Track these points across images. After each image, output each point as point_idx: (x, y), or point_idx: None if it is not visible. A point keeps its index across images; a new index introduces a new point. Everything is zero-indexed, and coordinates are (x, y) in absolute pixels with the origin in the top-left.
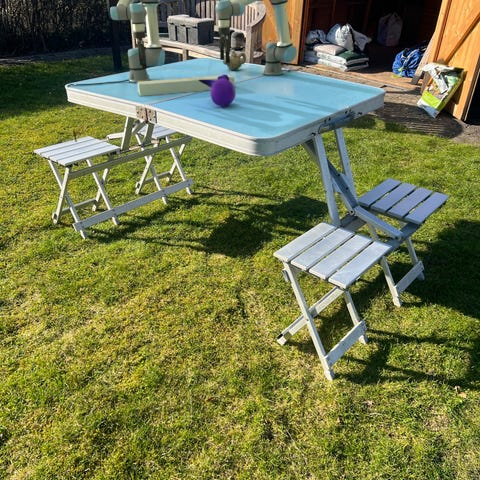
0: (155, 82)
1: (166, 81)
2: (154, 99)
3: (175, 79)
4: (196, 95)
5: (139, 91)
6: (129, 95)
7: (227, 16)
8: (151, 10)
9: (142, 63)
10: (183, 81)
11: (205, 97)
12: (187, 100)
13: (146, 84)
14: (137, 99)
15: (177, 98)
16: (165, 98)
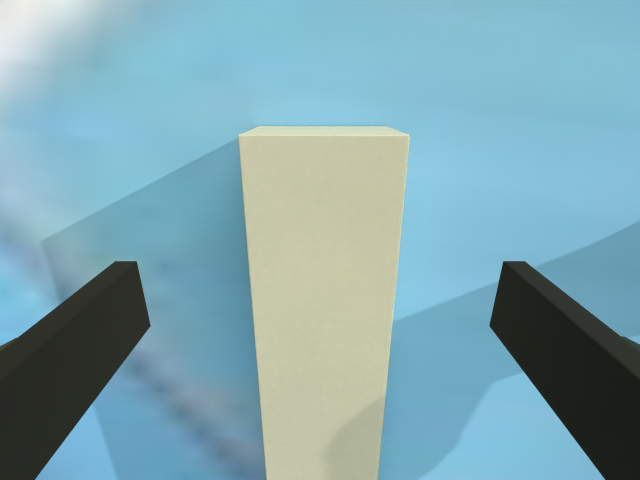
0: (288, 302)
1: (297, 384)
2: (117, 218)
3: (352, 447)
4: (177, 448)
5: (279, 128)
6: (327, 28)
7: None
8: None
9: (51, 323)
10: (266, 476)
11: (117, 472)
12: None
13: (245, 214)
14: (143, 87)
15: None
16: None
